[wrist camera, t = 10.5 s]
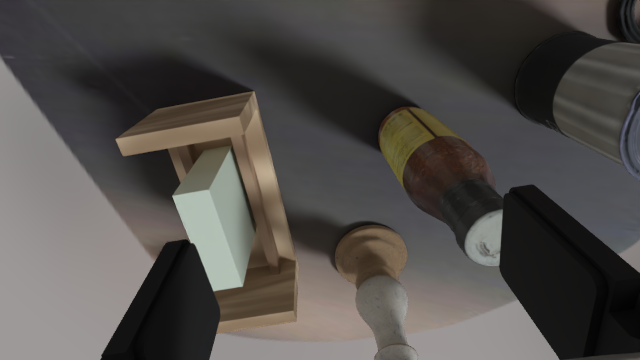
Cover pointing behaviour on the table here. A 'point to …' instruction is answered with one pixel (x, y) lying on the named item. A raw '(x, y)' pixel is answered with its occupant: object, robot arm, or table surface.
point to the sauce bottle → (445, 179)
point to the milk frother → (588, 89)
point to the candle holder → (378, 285)
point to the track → (262, 190)
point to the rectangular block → (218, 216)
